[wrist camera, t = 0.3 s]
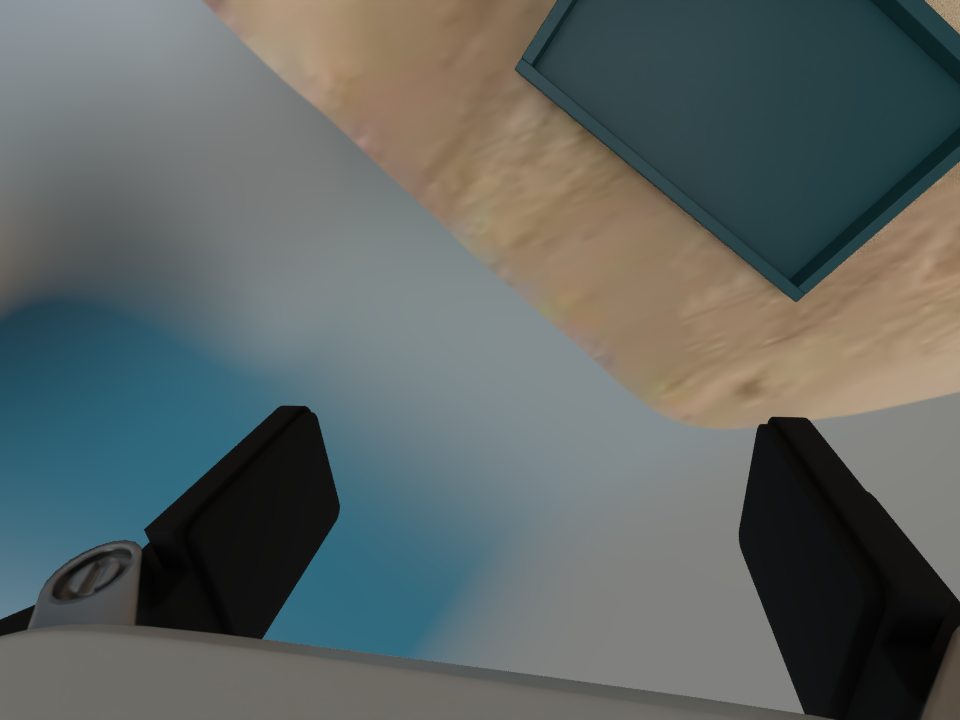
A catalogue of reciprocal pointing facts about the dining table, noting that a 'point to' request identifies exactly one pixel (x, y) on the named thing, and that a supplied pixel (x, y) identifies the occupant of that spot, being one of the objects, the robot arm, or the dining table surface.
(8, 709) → the robot arm
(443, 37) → the dining table surface
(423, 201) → the dining table surface
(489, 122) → the dining table surface
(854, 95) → the tray
